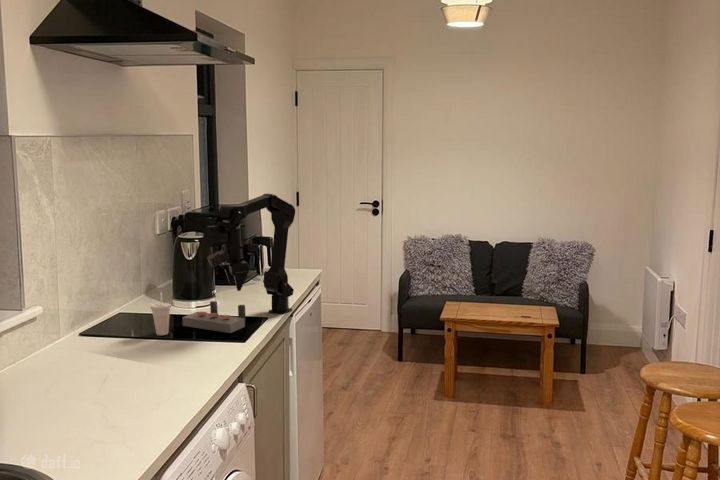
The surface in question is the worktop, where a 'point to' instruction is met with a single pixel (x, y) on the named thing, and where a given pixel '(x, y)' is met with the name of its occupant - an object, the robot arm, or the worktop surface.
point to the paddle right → (225, 316)
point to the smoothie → (161, 316)
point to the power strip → (213, 322)
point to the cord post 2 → (241, 311)
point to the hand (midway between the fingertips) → (235, 287)
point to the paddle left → (201, 313)
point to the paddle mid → (213, 315)
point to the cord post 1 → (213, 307)
